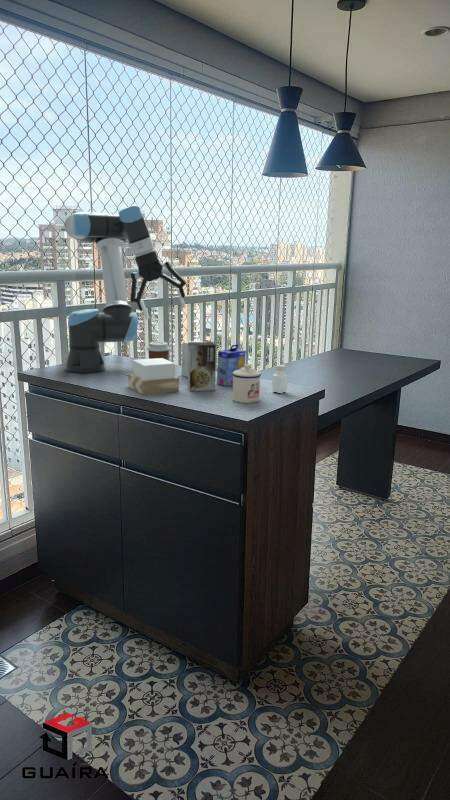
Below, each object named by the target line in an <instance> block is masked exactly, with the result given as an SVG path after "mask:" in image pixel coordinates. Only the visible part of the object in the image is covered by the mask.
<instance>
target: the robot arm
mask: <svg viewBox="0 0 450 800" xmlns="http://www.w3.org/2000/svg"><path fill="white" fill-rule="evenodd" d="M142 211H143V210H142V209H141V206H140V205H139V204H134V205H130V206H127V207H124V208H122V209H119V210H118V213H115V212H114V213H113V212H110V213H108V212H105V213H104V212H92V211H91V212H90V211H82V212H81V211H79V212H76V213H72V214H70V215H69V216H68V217H67V218H66V219H65V222H64V228H65V231H66V233H67V235H68V236H69V237H70V238H72V239H74V240H76V241H79V242H85V243H95V247H96V249H97V250H98V251H100V263H101V269H102V270H101V271H102V272H101V273H102V280H103V281H102V282H103V289H104V301H105V306H104V307H103V308H102V312H100V310H99V309H98V308H89V309H88V308H86V309H80V310H75V311H72V312H70V313H69V314H68V316H67V317H68V319H67V321H68V323H67V327H68V345H69V347H68V348H69V350H68V355H67V358H66V361H65V371H67V372H70V373H75V374H76V373H77V374H78V373H79V374H85V373H86V374H88V373H90V374H91V373H99V372H102V371H104V370H106V364H105V360H104V357H103V355H102V352H101V346H100V345H101V343H120V342H121V343H125V342H132V341H134V340H135V339H136V336H137V334H138V325H139V316H138V313H137V312H135V311H133V308H132V306H131V304H128V295H127V287H126V286H127V285H126V279H125V270H124V260H123V259H124V258H123V251H122V249H124V247H125V244H126V243H127V242H128V244H129V247H130V249H131V252H132V254H133V256H135V257H134V260H135V263H136V266H137V268H138V271H137V272H135V271H132V272H131V274H130V278H131V288H130V302H131V303H136V304H137V307H138V309H139V311H140V312H143V315H144V318H145V320H149V319H150V315H149V313H148V309H147V307H146V304H145V301H144V299H142V296H143V295H144V292H145V289H146V286H147V283H148V282H152V281H154V280H155V281H156V280H158V279H159V278H161V279H162V280H164V281H166V282H168V283H170V284H171V285H173V286H174V287H175V288H177V289H176V292H177V295H178V298H179V301H180V304H181V306H182V309H185V308H186V303H185V299H184V298H185V297H186V293H185V291H184V290H185V289H184V288H183V287H185V286H186V284H187V281H186V280H185V279H184V278H183V277H182V276H181V275H180V274H179V273H178V271H177V270H175V268H173V266H172V265H171V263H170V261H169V260H166V261H165V262H164V263H161V262H160V260H159V259H160V258H159V256H158V254H157V251H156V250H155V245H154V243H153V239H152V237H151V235H150V234H151V233H150V232H149V231H150V230H149V229H148V226H147V223H146V219H145V217H144V213H143V212H142ZM163 268H164V269H166V270H168V272H169V273H171V275H172V276H173V277H175V279H177V281H176V280H175V279H173V278H172V277H171V276H170V275H169V276H168V275H167V274H166V273H164V272H163ZM139 276H140V277H141V278H143V279H142V281H141V285H140V287H139V290H138V293H136V292H137V285H138V284H137V283H138V279H139ZM136 294H137V295H136ZM141 299H142V300H141Z"/></svg>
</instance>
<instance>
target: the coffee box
mask: <svg viewBox="0 0 450 800" xmlns="http://www.w3.org/2000/svg"><path fill="white" fill-rule="evenodd" d="M187 342H188V377H187V388H188V390H189V392H199V391H201V392H202V391H203V392H204V391H216V363H217V362H216V357H217V356H216V353H217V352H216V349H217V348H216V347H217V346H216V344H215V342H214V341H202V342H190V341H187Z"/></svg>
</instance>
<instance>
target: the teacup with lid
mask: <svg viewBox="0 0 450 800" xmlns="http://www.w3.org/2000/svg"><path fill="white" fill-rule="evenodd" d="M232 375H233V385H232V400H233V401H234V402H236V403H241V404H253V403H256V402H259V400H260V388H261V387H260V386H261V385H260V383H261V381H260V380H261V375H262V374H261V372H260V371H259V370H256V369H254V368H253V367H251V365H250V364H246V363H245V365H244V367H243V368H240V369H239V370H236V371H234V372H233V374H232Z"/></svg>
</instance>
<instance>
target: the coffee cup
mask: <svg viewBox="0 0 450 800" xmlns="http://www.w3.org/2000/svg"><path fill="white" fill-rule="evenodd" d="M146 350H147V351H148V359H155V358H164V359H166V360H168V361H169V351H171V347H170V346H169V344H168V342H167V341H166V342H165V341H150V342H149V345H148V346H147V347H146Z"/></svg>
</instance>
